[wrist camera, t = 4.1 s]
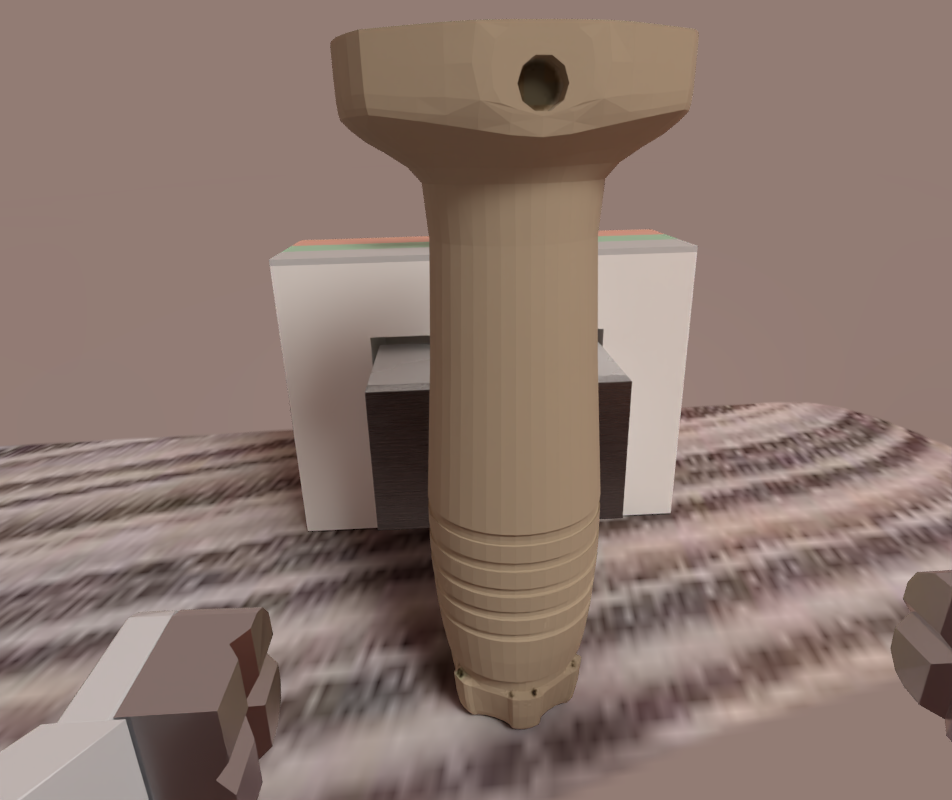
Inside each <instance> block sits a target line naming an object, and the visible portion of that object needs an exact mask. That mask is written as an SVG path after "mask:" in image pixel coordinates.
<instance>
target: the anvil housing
mask: <svg viewBox="0 0 952 800" xmlns="http://www.w3.org/2000/svg"><path fill="white" fill-rule="evenodd" d="M697 247H698V246H697V245H693V244H691V243H688V242H685V241H682V240H679V239H677V238H674V237H671V236H668V235H665V234H663V233H660V232H657V231H654V230H651V229H645V230H644V229H643V230H612V231H598V342H599V343H600V344H601V346H602V347H603V348H604V349H605V350H606V351H607V353H608V354H609V355H610V356H611V357H612V359H613V360H614V361H615V362H616V363H617V364H618V366H619V367H620V368H621V369H622V370H623V372H624V373H625V374H626V375H627V376H628V377H629V379H630V380H631V381H632V390H631V405H630V419H629V433H628V447H627V462H626V476H625V490H624V504H623V515H641V514H661V513H670V512H671V503H672V493H673V483H674V473H675V463H676V453H677V444H678V434H679V424H680V414H681V404H682V395H683V385H684V375H685V365H686V354H687V346H688V336H689V325H690V316H691V306H692V296H693V286H694V277H695V266H696V257H697ZM269 263H270V270H271V277H272V284H273V291H274V298H275V305H276V312H277V319H278V326H279V333H280V340H281V347H282V354H283V361H284V368H285V375H286V382H287V389H288V396H289V402H290V410H291V417H292V424H293V431H294V438H295V445H296V452H297V459H298V466H299V473H300V480H301V487H302V494H303V501H304V508H305V515H306V522H307V529H308V531H322V530H342V529H362V528H378V527H377V516H376V506H375V495H374V485H373V474H372V464H371V453H370V443H369V432H368V422H367V411H366V401H365V390H366V387H367V384H368V381H369V378H370V375H371V372H372V368H373V365H374V362H375V359H376V356H377V353H378V349H379V346H380V345H392V344H418V343H430V273H429V236H421V237H391V238H361V239H360V238H359V239H327V240H301V241H299V242H297V243H296V244H294V245H293V246H291V247H289V248H288V249H286V250H284V251H283V252H281V253H280V254H278V255H276V256H275V257H273V258H271V259H270V260H269Z"/></svg>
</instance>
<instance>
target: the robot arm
mask: <svg viewBox="0 0 952 800" xmlns="http://www.w3.org/2000/svg"><path fill="white" fill-rule="evenodd" d="M903 600H904V602H905V603H906V605H907V607H908V609H909V610H910V613H909V614H908V615H907V616H906V617H905V618H904V619H903V620H902V621H901V622H900V623H899V624H898V625H897V626H896V627H895V630H894V635H893V639H892V644H891V653H892V658H893V662H894V667H895V671H896V673H897V675H898V677H899V678H900V680H901V682H902V684H903V686H904V687H905V689H906V690H907V691H908V692H909V693H910V695H911V696H912V697H913V698H914V699H915V700H916V702H918V704H920V705H921V706H923V707H924V708H926V709H928V710H930V711H931V712H933V713H935V714H937V715H938V716H940V717H942V718H944V719H945V726H946V736H947V737H948V738H949V739H950V740H951V741H952V570H945V571H929V572H917V573H916V574H915V575H914V576H913V577H912V578H911V579H910V580H909V581H908V583H907V587H906V590H905V593H904V597H903ZM272 636H273V632H272V627H271V622H270V617H269V613H268V612H267V611H266V610H265V609H264V608H263V607H257V608H225V609H194V610H180V611H152V612H138V613H136V614H134V615H133V616H131V617H129V618H128V619H127V620H126V621H125V623H124V624H123V626H122V627H121V629H120V630H119V632H118V633H117V635H116V636H115V638H114V639H113V641H112V642H111V643H110V645H109V646H108V648H107V649H106V651H105V652H104V654H103V655H102V657H101V658H100V660H99V661H98V663H97V664H96V666H95V667H94V668H93V670H92V671H91V673H90V674H89V676H88V677H87V679H86V680H85V682H84V683H83V685H82V686H81V688H80V689H79V691H78V692H77V693H76V695H75V696H74V698H73V699H72V701H71V702H70V704H69V705H68V707H67V708H66V710H65V711H64V713H63V714H62V716H61V717H60V719H59V720H58V721H57V723H55V724H41V725H40V726H38V727H37V728H35V729H34V730H32V731H31V732H29V733H28V734H26V735H25V736H23V737H22V738H20V739H19V740H17V741H16V742H15V743H13V744H12V745H10V746H9V747H7V748H6V749H4V750H3V751H1V752H0V800H257V799H258V796H259V792H260V789H261V785H262V776H261V771H260V766H259V759H260V758H261V757H262V756H263V755H264V754H265V753H266V752H267V751H268V750H269V749H270V748H271V747H272V746H273V742H274V738H275V734H276V730H277V727H278V721H279V712H280V703H281V682H280V673H279V667H278V663H277V662H276V661H275V660H274V659H273V658H272V657H270V656H269V655H268V654H267V651H268V648H269V645H270V642H271V639H272Z"/></svg>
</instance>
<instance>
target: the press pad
mask: <svg viewBox="0 0 952 800" xmlns="http://www.w3.org/2000/svg"><path fill="white" fill-rule="evenodd" d="M631 390H632V381H631V380H630V379H629V377H628V376H627V375H626V374H625V373H624V372H623V370H622V369H621V368H620V367H619V366H618V364H617V363H616V362H615V361H614V360H613V359H612V357H611V356H610V355H609V354H608V353H607V351H606V350H605V349H604V348H603V347H602V346H601V344H600V343H599V342H598V395H599V445H600V500H599V501H600V516H599V519H613V518H623V504H624V490H625V476H626V462H627V447H628V433H629V419H630V405H631ZM429 395H430V343H418V344H392V345H380V346H379V349H378V353H377V356H376V359H375V362H374V365H373V368H372V372H371V375H370V378H369V381H368V384H367V387H366V390H365V401H366V411H367V422H368V432H369V443H370V453H371V464H372V474H373V485H374V495H375V506H376V516H377V527H378V530H395V529H415V528H430V523H429V509H428V502H429V498H428V459H429Z"/></svg>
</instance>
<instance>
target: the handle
mask: <svg viewBox="0 0 952 800" xmlns="http://www.w3.org/2000/svg"><path fill="white" fill-rule="evenodd" d="M698 37H699V33H698V31H697V30H696V29H690V28H683V27H675V26H667V25H659V24H650V23H641V22H631V21H617V20H593V19H590V20H589V19H492V20H466V21H450V22H436V23H425V24H413V25H402V26H391V27H382V28H371V29H360V30H356V31H352V32H349V33H345V34H343V35H340V36H338V37H336V38H335V39H333V40H332V41H331V47H330V48H331V58H332V68H333V79H334V87H335V97H336V105H337V110H338V115H339V118H340V121H341V122H342V123H343V124H344V125H345V126H346V127H347V128H348V129H349V130H350V131H351V132H353V133H354V134H356V135H357V136H358V137H359V138H361V139H362V140H363V141H365V142H366V143H368V144H370V145H371V146H373V147H375V148H377V149H378V150H380V151H382V152H384V153H386V154H387V155H389V156H390V157H392V158H393V159H395V160H397V161H398V162H400V163H401V164H403V165H404V166H406V167H408V168H409V170H410V171H412V173H413V174H414V175H415V176H416V177H417V178H418V179H419V180H420V182H421V183H422V187H423V195H424V203H425V210H426V218H427V225H428V233H429V273H430V395H429V459H428V498H429V502H428V509H429V523H430V544H431V556H432V563H433V569H434V577H435V584H436V590H437V597H438V602H439V607H440V611H441V616H442V621H443V625H444V628H445V632H446V636H447V639H448V643H449V646H450V648H451V653H452V658H453V662H454V665H455V669H456V670H455V671H454V676H455V682H456V688H457V692H458V696H459V699H460V702H461V704H462V705H463V706H464V708H465V709H467V710H468V711H469V712H470V713H472V714H473V715H476V714H482V715H488V716H492V717H495V718H498V719H500V720H503V721H505V722H506V723H508V724H510V726H511V727H512V728H514V729H526V728H531V727H534V726H536V725H538V724H539V722H540V719H541V717H542V715H543V714H544V713H546V712H547V711H548V710H549V709H551V708H553V707H554V706H556V705H558V704H561V703H566V702H568V701H569V700H570V699H571V698H572V696H573V693H574V690H575V686H576V683H577V680H578V674H579V668H580V662H581V656H579V655H577V654H576V653H577V651H578V649H579V647H580V644H581V640H582V636H583V633H584V629H585V625H586V621H587V616H588V611H589V606H590V600H591V594H592V587H593V580H594V572H595V566H596V558H597V547H598V534H599V526H598V525H599V516H600V501H599V500H600V445H599V395H598V231H599V223H600V215H601V207H602V199H603V192H604V185H605V178H606V177H607V176H608V175H609V174H610V173H611V171H612V170H613V169H614V168H615V167H616V166H617V164H619V162H621V161H622V160H624V159H625V158H627V157H628V156H630V155H631V154H632V153H634V152H635V151H637V150H638V149H640V148H641V147H643V146H644V145H646V144H648V143H649V142H651V141H653V140H654V139H656V138H658V137H659V136H661V135H663V134H664V133H665V132H666V131H668V130H669V129H670V128H671V127H673V126H674V125H675V124H676V123H678V122H679V121H680V119H682V118H683V117H684V116H685V115H686V114H687V113H688V111H689V109H690V106H691V101H692V96H693V88H694V79H695V70H696V59H697V49H698Z"/></svg>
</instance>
